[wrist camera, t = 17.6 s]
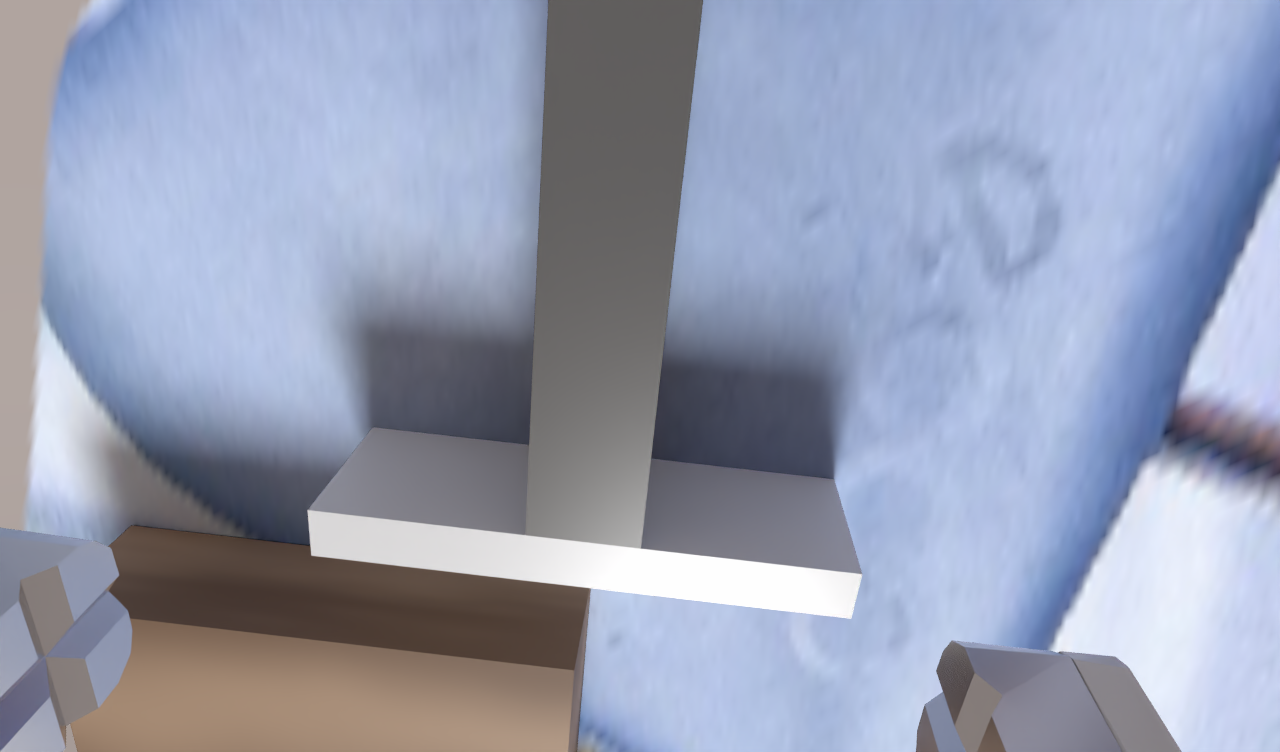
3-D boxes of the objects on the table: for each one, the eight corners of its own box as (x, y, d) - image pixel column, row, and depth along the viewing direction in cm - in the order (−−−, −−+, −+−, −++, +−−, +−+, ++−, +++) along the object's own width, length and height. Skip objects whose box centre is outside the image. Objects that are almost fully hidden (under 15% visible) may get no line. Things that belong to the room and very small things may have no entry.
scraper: (345, -222, 16) (238, -295, 12) (974, -161, 15) (1060, -216, 12) (375, 465, 22) (311, 555, 18) (825, 516, 22) (851, 618, 18)
